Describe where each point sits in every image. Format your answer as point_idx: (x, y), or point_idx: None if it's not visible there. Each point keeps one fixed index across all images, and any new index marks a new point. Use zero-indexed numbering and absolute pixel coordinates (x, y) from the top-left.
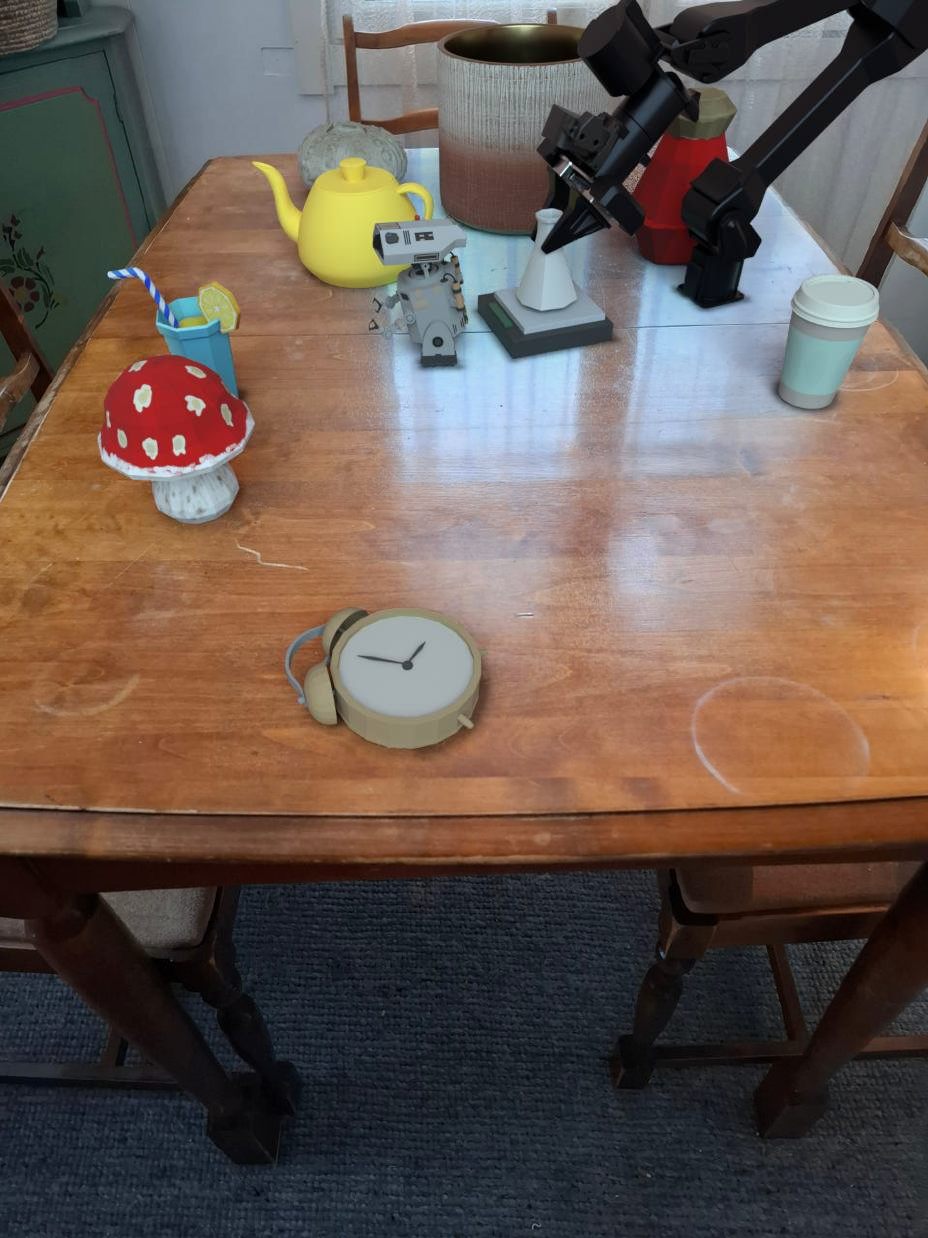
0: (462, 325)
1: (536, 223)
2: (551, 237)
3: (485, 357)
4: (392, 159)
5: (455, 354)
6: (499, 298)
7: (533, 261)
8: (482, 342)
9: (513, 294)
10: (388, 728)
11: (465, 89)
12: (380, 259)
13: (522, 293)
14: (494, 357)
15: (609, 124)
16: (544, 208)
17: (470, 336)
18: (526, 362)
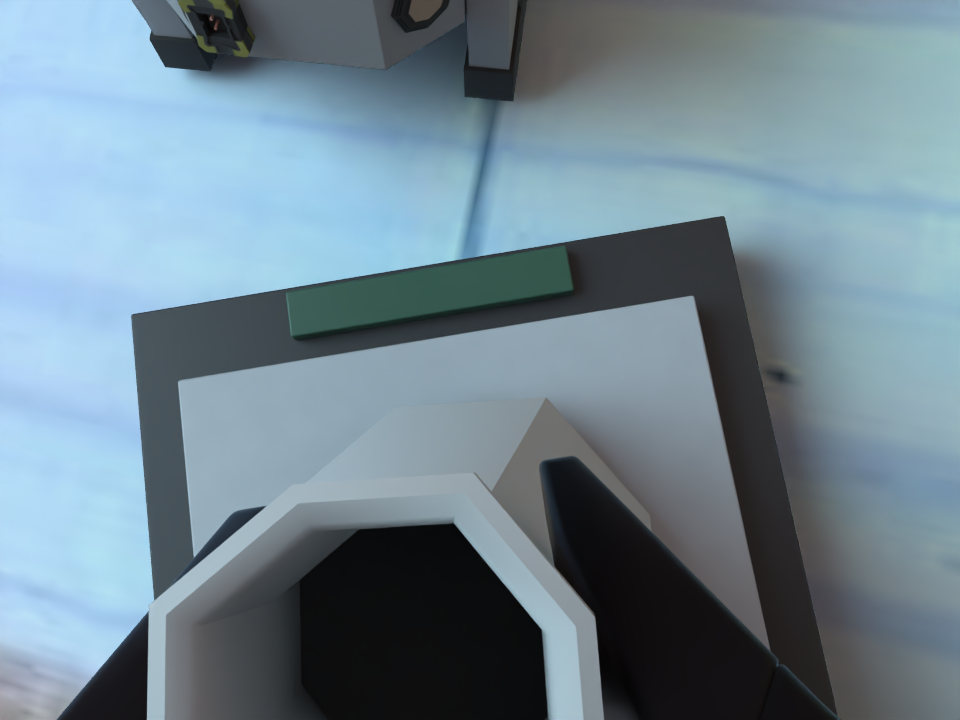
0: (187, 18)
1: (625, 536)
2: (139, 624)
3: (223, 211)
4: None
5: (157, 38)
6: (591, 312)
7: (407, 470)
8: (369, 220)
9: (622, 405)
10: None
11: None
12: None
13: (434, 412)
14: (212, 252)
15: None
16: (701, 687)
17: (441, 173)
18: (126, 393)
